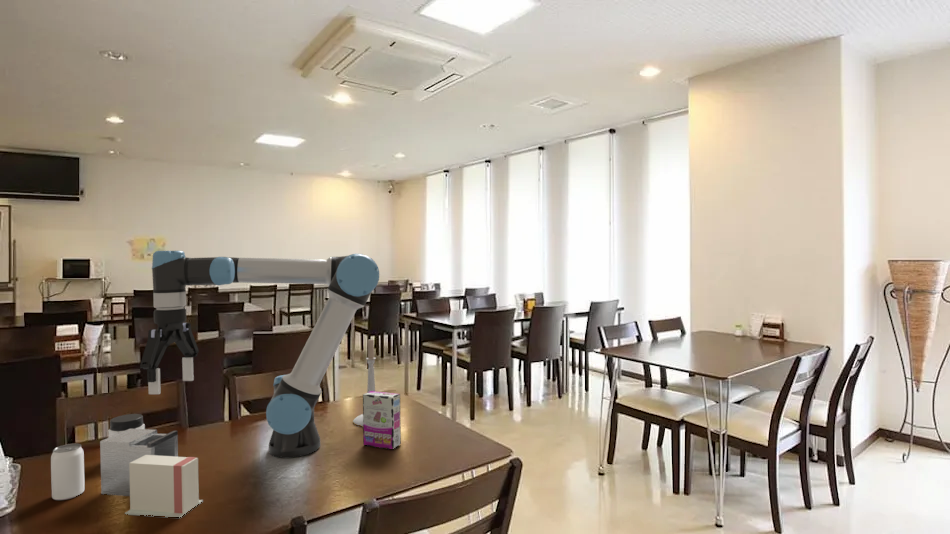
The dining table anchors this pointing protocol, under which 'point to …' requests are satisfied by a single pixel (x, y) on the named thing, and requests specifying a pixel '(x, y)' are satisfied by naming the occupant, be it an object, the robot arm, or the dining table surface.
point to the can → (67, 471)
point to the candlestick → (371, 380)
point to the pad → (157, 512)
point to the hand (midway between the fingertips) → (172, 387)
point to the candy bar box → (381, 419)
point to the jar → (125, 423)
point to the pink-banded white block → (164, 483)
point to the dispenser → (131, 456)
